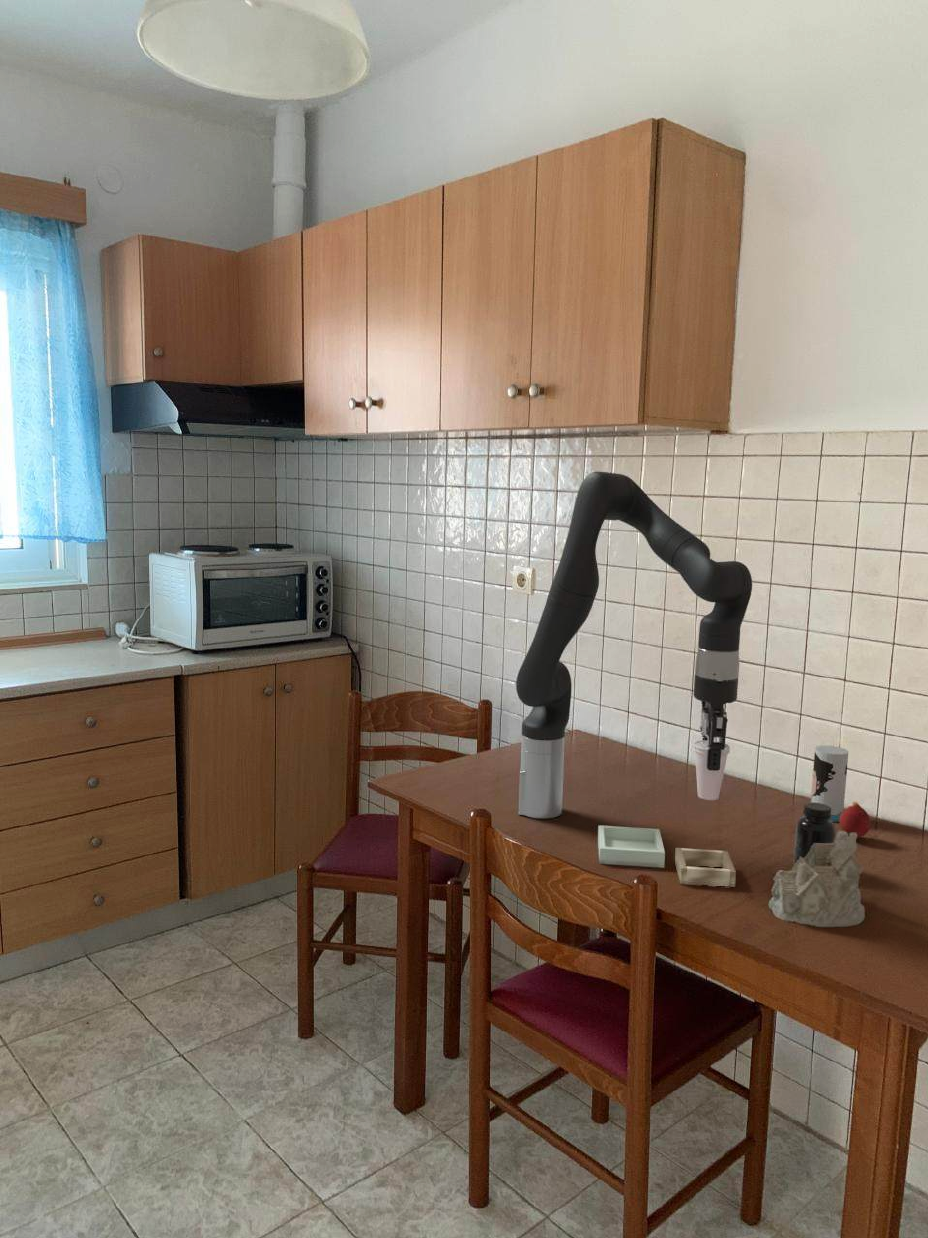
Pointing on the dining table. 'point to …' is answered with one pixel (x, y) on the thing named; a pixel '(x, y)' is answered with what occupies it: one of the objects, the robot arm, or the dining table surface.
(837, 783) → the cup
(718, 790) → the smoothie
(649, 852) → the tray
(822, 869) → the ceramic cottage
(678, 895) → the dining table surface
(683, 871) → the rectangular wooden frame
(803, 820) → the supplement bottle
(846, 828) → the onion
